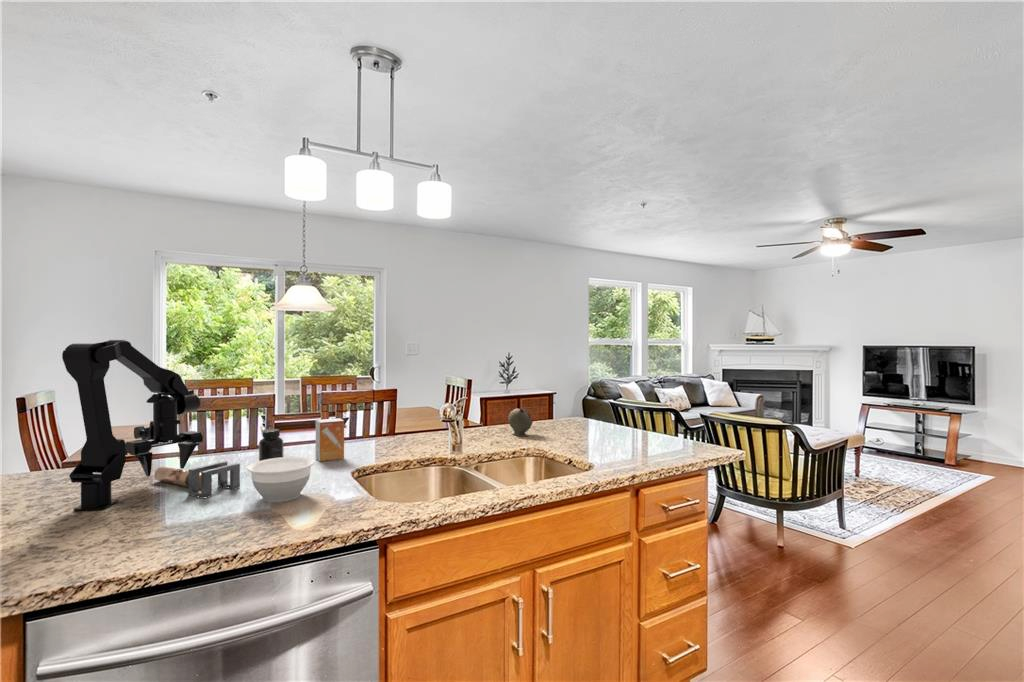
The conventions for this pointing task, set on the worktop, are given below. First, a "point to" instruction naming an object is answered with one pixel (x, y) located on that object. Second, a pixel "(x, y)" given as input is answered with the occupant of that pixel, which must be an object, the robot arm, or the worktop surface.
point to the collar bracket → (206, 478)
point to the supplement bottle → (270, 445)
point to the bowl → (280, 477)
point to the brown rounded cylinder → (174, 476)
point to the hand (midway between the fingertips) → (165, 472)
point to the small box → (329, 439)
